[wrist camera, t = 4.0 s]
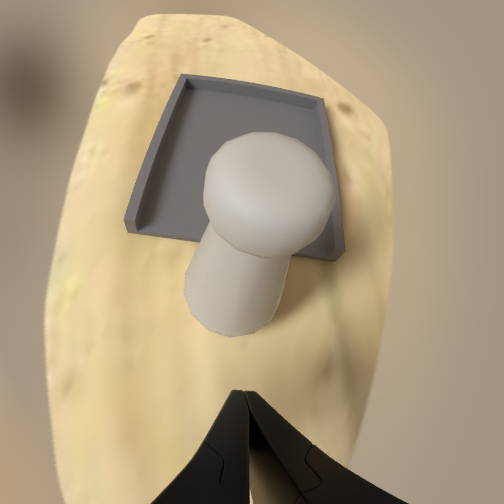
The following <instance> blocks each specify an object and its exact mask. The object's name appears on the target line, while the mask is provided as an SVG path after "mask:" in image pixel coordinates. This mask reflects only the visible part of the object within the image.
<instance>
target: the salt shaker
mask: <svg viewBox="0 0 504 504" xmlns="http://www.w3.org/2000/svg"><path fill="white" fill-rule="evenodd" d="M335 199H336V195H335V188H334V182H333V176H332V175H331V173H330V172H329V170H328V169H327V167H326V166H325V165H324V163H323V162H322V160H321V159H320V158H319V156H318V155H317V154H316V152H314V151H313V150H312V149H310V148H309V147H308V146H306V145H305V144H303V143H302V142H300V141H299V140H298V139H295V138H292V137H289V136H285V135H282V134H279V133H275V132H252V133H248V134H245V135H242V136H240V137H237V138H235V139H232V140H230V141H227V142H225V143H224V145H223V146H222V147H221V148H220V149H219V150H218V151H217V152H216V153H215V154H214V155H213V156H212V158H211V159H210V162H209V165H208V167H207V170H206V176H205V184H204V192H203V204H204V208H205V210H206V212H207V215H208V217H209V220H210V222H209V224H208V226H207V228H206V230H205V232H204V234H203V237H202V239H201V241H200V243H199V245H198V247H197V249H196V252H195V254H194V256H193V258H192V260H191V262H190V265H189V267H188V269H187V271H186V274H185V285H184V296H185V299H186V302H187V305H188V307H189V310H190V313H191V315H192V316H193V317H194V318H195V319H196V320H197V321H198V322H200V323H201V324H202V325H203V326H204V327H205V328H207V329H208V330H209V331H212V332H215V333H218V334H221V335H224V336H227V337H236V336H241V335H247V334H252V333H255V332H256V331H258V330H259V329H260V328H262V327H263V326H265V325H266V324H268V323H269V322H270V321H271V320H272V318H273V316H274V314H275V312H276V310H277V308H278V306H279V304H280V301H281V297H282V293H283V289H284V285H285V281H286V276H287V272H288V268H289V263H290V259H291V255H292V254H295V253H296V252H298V251H299V250H301V249H302V248H304V247H305V246H307V245H308V244H310V243H312V242H313V241H315V240H316V239H317V237H318V236H319V235H320V234H321V233H322V232H323V230H324V228H325V225H326V223H327V220H328V218H329V215H330V213H331V210H332V208H333V205H334V202H335Z"/></svg>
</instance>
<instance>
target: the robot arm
mask: <svg viewBox="0 0 504 504" xmlns="http://www.w3.org/2000/svg"><path fill="white" fill-rule="evenodd" d="M250 490H251V495H252V499H253V504H408V503H406V502H404V501H402V500H400V499H398V498H397V497H395V496H393V495H391V494H389V493H388V492H386V491H384V490H382V489H380V488H378V487H377V486H375V485H373V484H372V483H370V482H368V481H366V480H365V479H363V478H361V477H360V476H358V475H356V474H354V473H353V472H351V471H350V470H348V469H347V468H345V467H344V466H342V465H341V464H339V463H338V462H336V461H335V460H333V459H332V458H330V457H329V456H328V455H327V454H325V453H324V452H323V451H321V450H320V449H319V448H318V447H317V446H316V445H314V444H313V445H312V443H311V442H310V441H309V440H308V439H307V438H306V437H305V436H303V435H302V434H301V433H300V432H299V431H298V430H297V429H295V428H294V427H293V426H292V425H291V424H290V423H289V422H288V421H287V420H285V419H284V418H283V417H282V416H281V415H280V414H279V413H278V412H277V411H276V410H275V409H274V408H272V407H271V406H270V405H269V404H268V403H267V402H266V401H265V400H264V399H263V398H262V397H261V396H260V395H259V394H258V393H257V392H255V391H244V392H243V391H242V390H232V391H231V392H230V394H229V396H228V398H227V400H226V401H225V403H224V405H223V407H222V409H221V411H220V412H219V414H218V416H217V418H216V419H215V421H214V423H213V425H212V427H211V428H210V430H209V432H208V434H207V435H206V437H205V439H204V440H203V442H202V443H201V445H200V447H199V449H198V450H197V452H196V453H195V455H194V456H193V458H192V459H191V460H190V462H189V463H188V464H187V465H186V466H185V468H184V469H183V470H182V471H181V472H180V473H179V474H178V475H177V476H176V477H175V479H174V480H173V481H172V482H171V483H170V484H169V485H168V486H167V487H166V488H165V489H164V490H163V491H162V492H161V493H160V494H159V495H158V496H157V497H156V498H155V499H154V500H153V501H152V503H151V504H250V497H249V496H250Z"/></svg>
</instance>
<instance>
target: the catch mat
mask: <svg viewBox="0 0 504 504" xmlns="http://www.w3.org/2000/svg"><path fill="white" fill-rule="evenodd" d="M252 132H275V133H279V134H282V135H285V136H289V137H292V138H295V139H298V140H299V141H300V142H302V143H303V144H305V145H306V146H308V147H309V148H310V149H312V150H313V151H314V152H316V154H317V155H318V156H319V158H320V159H321V160H322V162H323V163H324V165H325V166H326V167H327V169H328V170H329V172H330V173H331V175H332V176H333V182H334V188H335V195H336V199H335V202H334V205H333V208H332V210H331V213H330V215H329V218H328V220H327V223H326V225H325V228H324V230H323V232H322V233H321V234H320V235H319V236H318V237H317V239H316V240H315V241H313V242H312V243H310V244H308V245H307V246H305V247H304V248H302V249H301V250H299V251H298V252H296V253H295V254H292V255H295V256H303V257H310V258H317V259H324V260H331V261H336V260H337V259H338V258H339V257H340V256H341V254H342V253H343V252H344V251H345V243H344V233H343V223H342V214H341V205H340V197H339V189H338V182H337V175H336V168H335V161H334V155H333V148H332V142H331V136H330V131H329V125H328V119H327V114H326V109H325V104H324V99H323V98H319V97H316V96H312V95H308V94H304V93H299V92H295V91H291V90H286V89H281V88H277V87H272V86H267V85H261V84H256V83H250V82H244V81H238V80H231V79H224V78H216V77H208V76H199V75H189V74H181V75H180V77H179V79H178V81H177V83H176V86H175V88H174V90H173V92H172V94H171V96H170V98H169V101H168V103H167V105H166V107H165V110H164V112H163V114H162V116H161V119H160V121H159V123H158V126H157V128H156V131H155V133H154V135H153V138H152V140H151V143H150V145H149V148H148V151H147V153H146V156H145V158H144V161H143V164H142V166H141V169H140V172H139V175H138V178H137V180H136V183H135V186H134V189H133V192H132V195H131V198H130V201H129V204H128V207H127V210H126V214H125V217H124V222H125V225H126V228H127V231H128V233H135V234H143V235H150V236H157V237H165V238H172V239H179V240H187V241H194V242H200V241H201V239H202V237H203V234H204V232H205V230H206V228H207V226H208V224H209V222H210V220H209V217H208V215H207V212H206V210H205V208H204V204H203V192H204V184H205V176H206V170H207V167H208V165H209V162H210V159H211V158H212V156H213V155H214V154H215V153H216V152H217V151H218V150H219V149H220V148H221V147H222V146H223V145H224V143H225V142H227V141H230V140H232V139H235V138H237V137H240V136H242V135H245V134H248V133H252Z"/></svg>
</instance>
